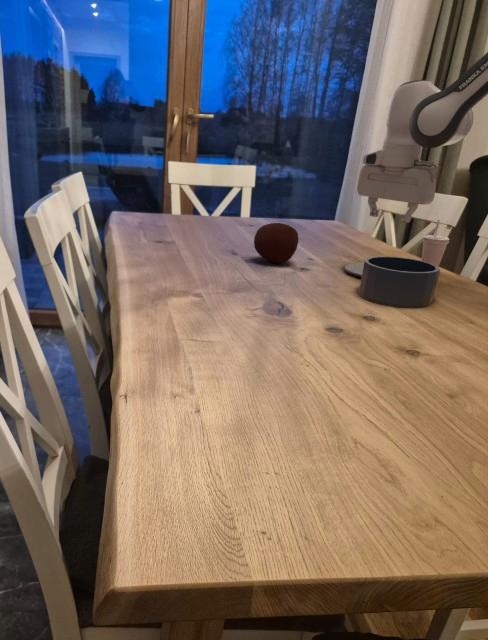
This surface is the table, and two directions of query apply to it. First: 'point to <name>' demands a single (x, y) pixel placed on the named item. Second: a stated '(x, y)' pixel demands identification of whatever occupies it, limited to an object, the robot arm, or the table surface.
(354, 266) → the lid
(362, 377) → the table surface
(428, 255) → the smoothie
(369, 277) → the pot
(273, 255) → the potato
